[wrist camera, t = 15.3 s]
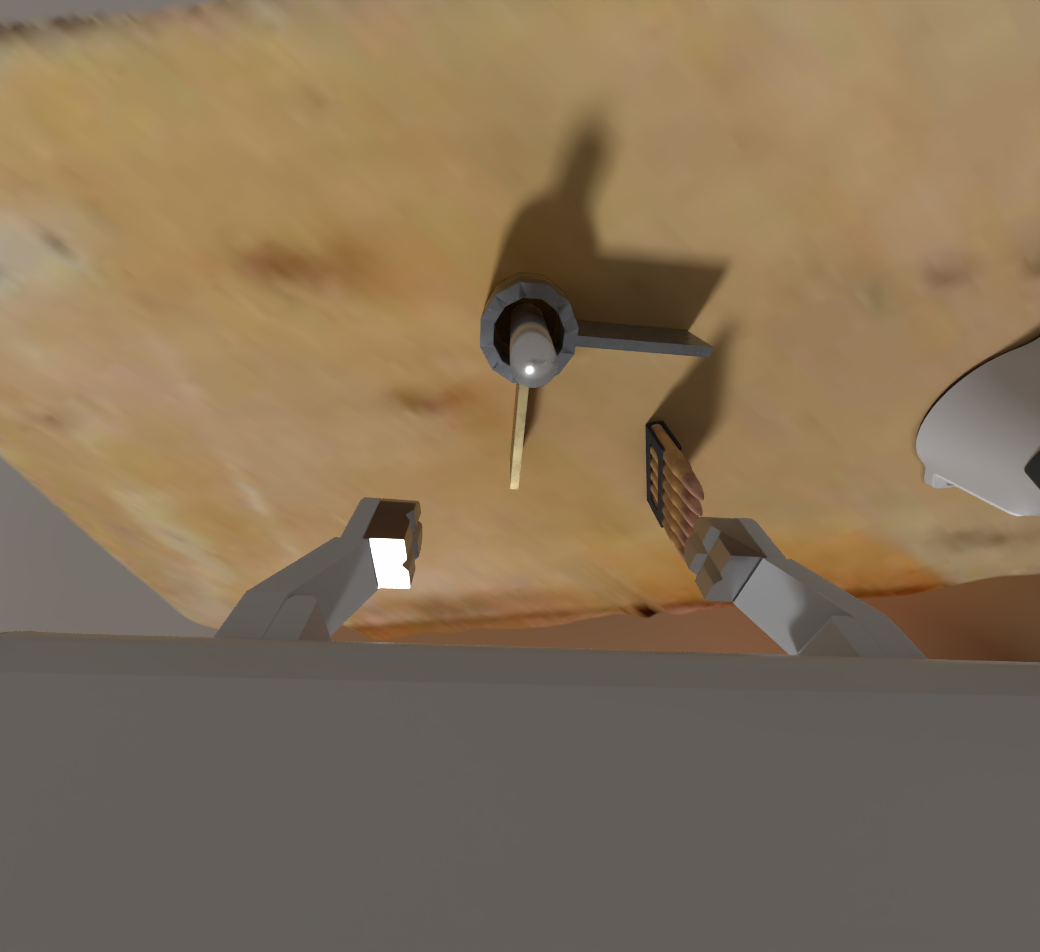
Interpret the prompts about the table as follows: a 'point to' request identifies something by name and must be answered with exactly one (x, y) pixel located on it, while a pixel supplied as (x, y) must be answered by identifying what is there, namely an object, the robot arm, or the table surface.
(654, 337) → the steel leaf
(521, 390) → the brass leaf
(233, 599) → the table surface
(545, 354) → the hinge pin
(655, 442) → the ammunition clip
